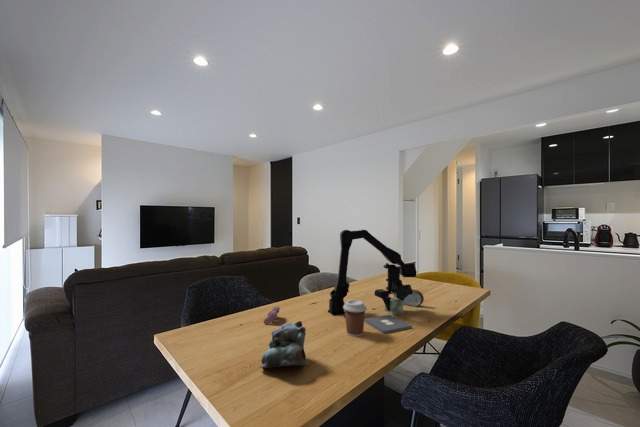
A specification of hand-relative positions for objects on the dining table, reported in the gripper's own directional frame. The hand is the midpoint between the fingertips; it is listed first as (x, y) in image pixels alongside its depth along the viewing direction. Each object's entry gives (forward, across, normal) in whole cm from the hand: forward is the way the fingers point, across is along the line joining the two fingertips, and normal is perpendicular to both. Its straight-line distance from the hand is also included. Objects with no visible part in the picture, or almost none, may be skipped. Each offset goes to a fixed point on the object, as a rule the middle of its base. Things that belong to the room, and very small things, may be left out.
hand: (393, 309), depth 132 cm
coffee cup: (+1, -30, -14) cm, 33 cm away
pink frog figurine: (+1, -57, +12) cm, 58 cm away
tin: (+1, +14, +6) cm, 15 cm away
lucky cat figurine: (+1, -62, -26) cm, 67 cm away
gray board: (+1, -13, -12) cm, 18 cm away
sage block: (+1, 0, 0) cm, 1 cm away
